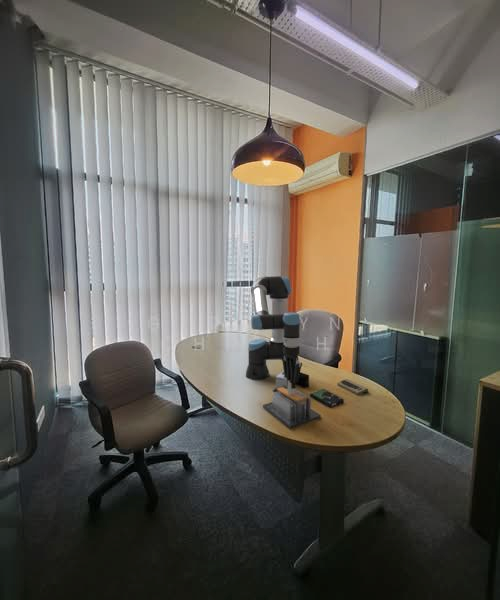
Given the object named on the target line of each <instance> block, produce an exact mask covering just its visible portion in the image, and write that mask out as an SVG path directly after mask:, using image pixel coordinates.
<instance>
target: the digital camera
mask: <svg viewBox="0 0 500 600" xmlns="http://www.w3.org/2000/svg"><path fill="white" fill-rule="evenodd" d="M295 386H298V387H300V388H303V389H307V388H308V387H309V386H310V375H309V374H307V373H303V372H301V371H300V376H299V381H297V382H295Z"/></svg>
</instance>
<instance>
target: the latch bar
mask: <svg viewBox="0 0 500 600" xmlns="http://www.w3.org/2000/svg"><path fill="white" fill-rule="evenodd" d="M277 391H278V392H280V393H281V394H283V395H285V396H287V397H289V398H291V399H292V400H294V401H296V400H299V401H300V402H301V403H304V402H307V398H306V397H304V398H303V397H301V396H299V395H297V394H293V395H289V394H288V390H287V389H285V388H283V387H281V388H277Z"/></svg>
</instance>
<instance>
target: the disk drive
mask: <svg viewBox="0 0 500 600" xmlns="http://www.w3.org/2000/svg"><path fill="white" fill-rule="evenodd" d="M309 398H310V399H311V398H312V399H313V400H315V401H317V402H318V403H320V404H322V405H324V406H325V407H327V408H329V409H332V408H334V407H338V406H340V405H343V404H344V402H345V400H344V398H343V397H340V396H338V395H336V394H334V393H332V392H330V391H329V390H327V389H325V388H322V389H319V390H317V391H314V392H310V394H309Z"/></svg>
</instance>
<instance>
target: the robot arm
mask: <svg viewBox="0 0 500 600" xmlns="http://www.w3.org/2000/svg"><path fill="white" fill-rule="evenodd" d="M250 294H251V296H252V301H253V310H254V311H253V312H254V314H252V315H251V321H250V322H251V329H252V330H259V331H261V330H262V331H263V330H271V337H270V338H269V341H267V339H265V338H259V339H258V338H257V339H253V340H251V341H250V342H249V343H248V347H247V351H248V365H247V368H246V371H245V377H246V378H248V379H250V378H251V379H250V380H256V379H258V380H259V379H260V380H264V379H267V378H269V376H270V372H269V371H270V370H269V368H268V365H267V361H276V360H278V361H282V368H283V371H284V377H285V378H287V385H288V394H289V395H293V394H295V389H296V385H295V382H297V381H299V376H300V372H301V369H302V366H303V363H302V362H300V361H299V360H300V359H299V355H300V350H301V349H300V344H301V342H300V340H301V339H300V337H301V335H300V334H301V333H300V332H301V331H300V328H301V327H300V325H301V323H300V322H301V318H300V313H298V312H292V311H291V312H290V311H289V312H287V311H286V309H287V308H286V305H287V304H286V302H287V300H288V299H289V296H291V295H292V286H291V282H290V279H289V277H288V276H282V275H281V276H279V275H278V276H277V275H275V276H261V277H259V278H258V279H256V280H255V281H254V282H253V283H252V285H251V287H250ZM267 296H269V299H270V300H271V303H272V304H271V305H272V307H271V314H270V311H269V306H268V301H267ZM286 374H287V375H286ZM258 380H257V381H258Z"/></svg>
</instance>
